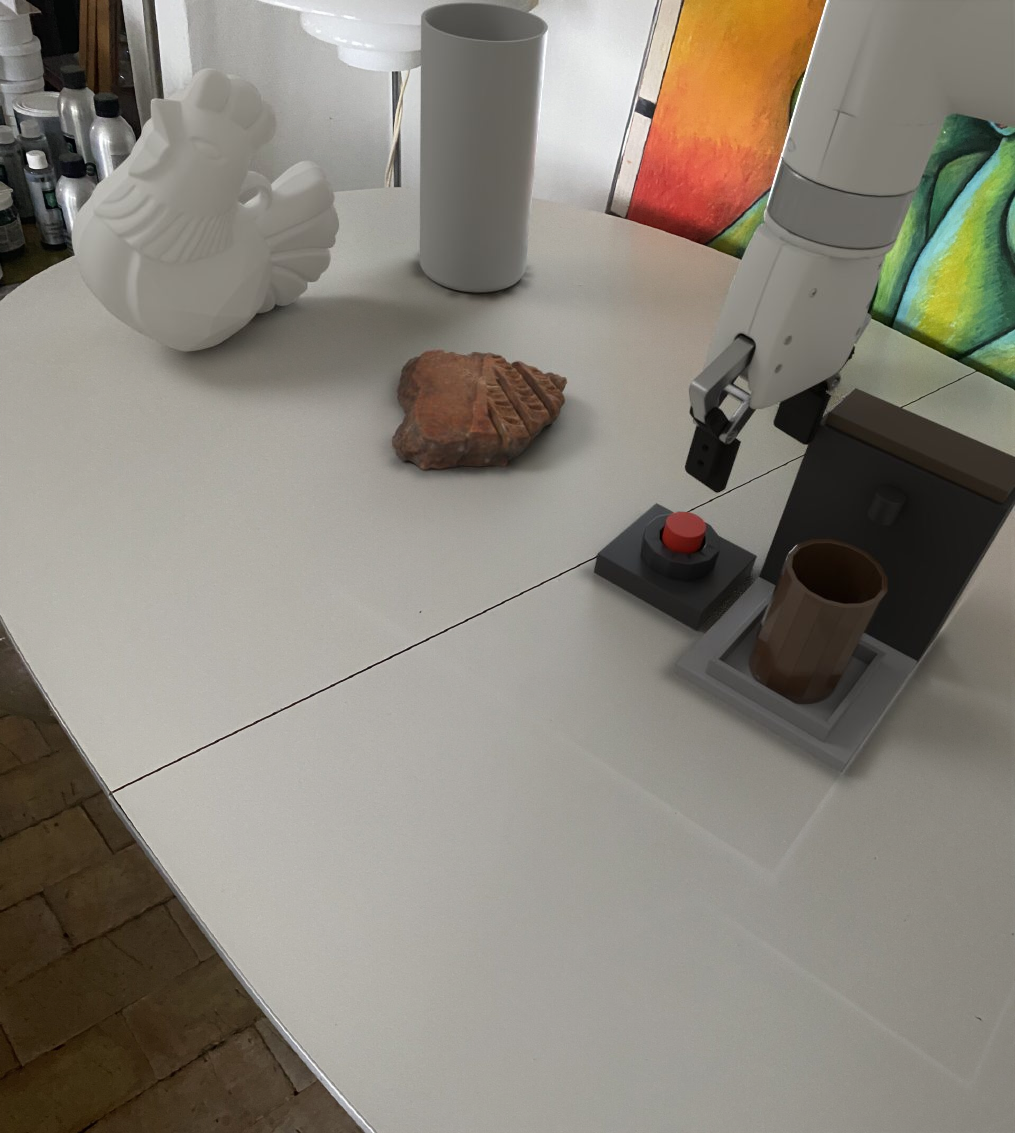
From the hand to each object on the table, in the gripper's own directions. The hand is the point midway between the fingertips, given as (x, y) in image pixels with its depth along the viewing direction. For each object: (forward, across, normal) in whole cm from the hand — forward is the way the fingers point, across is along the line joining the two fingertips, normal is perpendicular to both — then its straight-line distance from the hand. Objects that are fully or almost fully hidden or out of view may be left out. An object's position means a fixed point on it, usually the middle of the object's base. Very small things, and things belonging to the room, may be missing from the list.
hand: (749, 457), depth 66 cm
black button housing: (+15, -2, -4) cm, 16 cm away
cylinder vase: (+15, -22, -55) cm, 61 cm away
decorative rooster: (+16, +8, -58) cm, 61 cm away
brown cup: (+14, 0, +9) cm, 17 cm away
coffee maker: (+15, -3, +9) cm, 17 cm away
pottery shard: (+15, -3, -31) cm, 35 cm away
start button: (+11, -2, -4) cm, 12 cm away
